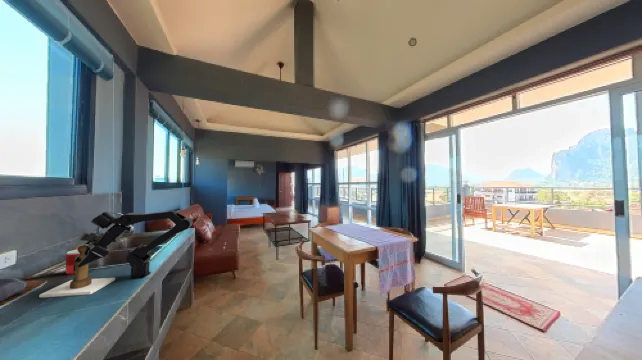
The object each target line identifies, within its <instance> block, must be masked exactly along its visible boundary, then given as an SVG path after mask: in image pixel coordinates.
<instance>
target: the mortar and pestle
mask: <svg viewBox="0 0 642 360" xmlns="http://www.w3.org/2000/svg"><path fill="white" fill-rule="evenodd" d="M85 245H86V244H85ZM85 245H84V244H83V245H80V246H78V247H77V249H76V250H78V252H79V253H80V256H79V261H76V263H75V274H74V278H73V279H72V280H73V281H71V282H70V288H71V289H76V288H81V287H85V286H88V285H90V284H91V283H92V279H93V278H92V277H91V276H89V264H90V263H88V264H86V265H84V266H81V267H77V265H78V264H79V263H80V262H81V261H82V260H83V259H84V258H85V257H86V255H85V252H86V250H87V246H85Z"/></svg>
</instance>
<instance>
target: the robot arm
mask: <svg viewBox="0 0 642 360" xmlns="http://www.w3.org/2000/svg"><path fill="white" fill-rule="evenodd" d="M165 219H167V220H168V219H169V220H170V221H171V222H172V223H173V224H174V226H173V227H171V228H170V229H169V230H167V231H166V232H164V233H163V234H162V235H160V236H158V237H157V238H154V240H152V241H150V242H149V243H147V244H143V243H141V244H140V245H138V246H136V247H135V248H133V249H132V250H131V251H128V254H127V255H126V259H125V260H126V262H128V263H129V266H130V277H129V278H128V279H129V280H131V279H144V278H146V277H147V276H149V275H150V274H151V273H152V271H150V262H149V261H151V259H152V255H150V254H149V253H150V252H151V251H153V250H154V249H155V248H157V247H158V246H160V245H161V244H163V243H164V242H166V241H167V240H169V239H171V238H172V237H174V236H175V235H177V234H179V233H182V232H184V231H186V230H188V229H189V228H190V227H192V225H193V220H192V218H190V217H186V216H185V215H183V214H181V213H179V212H177V211H175V210H173V209H171V210H166V211H158V212H149V213H142V212H129V213H125V214H121V216H118V217H114V216H113V215H111V214H110V213H109V212H108V211H104V212H102V213H100V214H98V215H97V216H96V217H94V218H93V219H91V222H90V223H91V224H92V225H95V226H96V227H98V228H100V229H102V230H105V229H106V231H104V232H101V233H99V234H97V233H95V232H92V231H91V232H86V231H83V232H82V233H81V235H80V236H79V237H78V239H79V241H83V242H84V243H83V245H85V246H87V250H86V252H85V255H86V257H85V258H84V259H83V260H82V261H81V262H80V263H79V264H78V265H77V267H81V266H84V265H86V264H88V263H89V264H91V263H93V262H94V261H97V260H100V259H103V258H106V257H107V256H108V255H109V253H110V252H109V249H108V248H109V246H110V245H111V244H113V243H116V242H117V240H118V238H120V237H121V236H122V235H123V234H125V232H128V233H132V226H131V225H136V224H138V223H143V222H149V221H157V220H165ZM79 256H80V254H79ZM79 256H78V257H77V258H76V259H75V261H74V262H76V261H79ZM89 264H88V265H89Z"/></svg>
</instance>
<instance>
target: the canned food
mask: <svg viewBox="0 0 642 360" xmlns="http://www.w3.org/2000/svg"><path fill="white" fill-rule="evenodd" d="M79 254H80V253H79V252H78V250H77V249H73V250H69V251H67V252H66V254H65V255H66V256H65V274H66V275H75V263H76V262H74V261H75V259H76V258H77V257H78V256H79Z"/></svg>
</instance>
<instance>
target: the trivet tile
mask: <svg viewBox="0 0 642 360" xmlns="http://www.w3.org/2000/svg"><path fill="white" fill-rule="evenodd" d="M73 280H74V279H70V280H68V281H67V282H64V283H61V284H60V285H57V286H55V287H53V288H51V289H49V290H46V291H45V292H42V293H40V294H39V298H51V297H53V298H55V297H70V296H85V295H87V296H88V295H92V294H94V293H95V292H97V291H99V290H101V289H102V288H104V287H105V286H108V285H110V284H111V283H112V282H114V281H116V278H115V277H105V278H104V277H103V278H92V283H91V284H90V285H88V286H85V287H81V288H76V289H71V288H70V282H71V281H73Z"/></svg>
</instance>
